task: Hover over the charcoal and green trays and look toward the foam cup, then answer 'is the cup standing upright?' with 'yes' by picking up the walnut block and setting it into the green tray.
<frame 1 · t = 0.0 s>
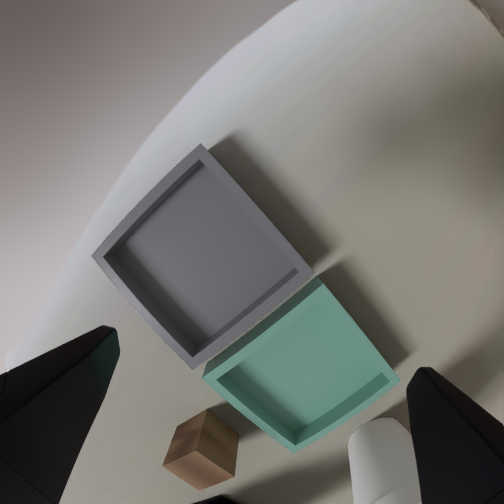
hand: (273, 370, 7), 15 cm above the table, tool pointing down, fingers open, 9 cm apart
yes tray: (304, 369, 24), on the table
walnut block: (207, 430, 25), on the table
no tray: (200, 258, 23), on the table
foam cup: (374, 436, 25), on the table
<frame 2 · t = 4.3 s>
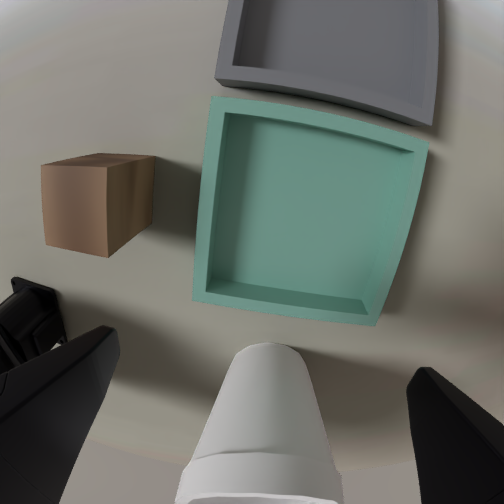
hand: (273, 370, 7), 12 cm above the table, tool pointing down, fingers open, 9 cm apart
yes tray: (304, 211, 18), on the table
walnut block: (123, 187, 18), on the table
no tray: (334, 16, 13), on the table
foam cup: (268, 368, 23), on the table
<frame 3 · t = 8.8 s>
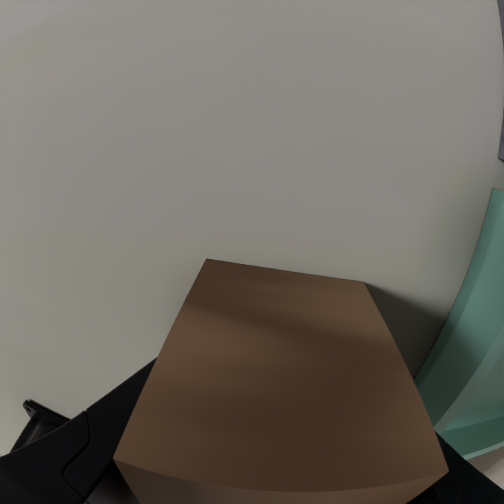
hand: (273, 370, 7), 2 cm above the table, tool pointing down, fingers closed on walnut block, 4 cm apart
walnut block: (273, 335, 9), on the table, touching gripper
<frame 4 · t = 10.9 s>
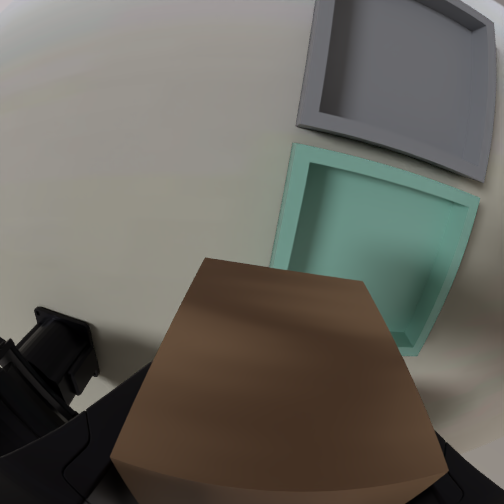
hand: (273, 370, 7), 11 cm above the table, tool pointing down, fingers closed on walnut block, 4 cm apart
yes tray: (364, 256, 18), on the table
walnut block: (272, 334, 9), point 10 cm above the table, touching gripper
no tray: (403, 62, 13), on the table
when the fingers open (4 cm above the table, at t = 13.4 s): walnut block drops 1 cm, resting on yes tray.
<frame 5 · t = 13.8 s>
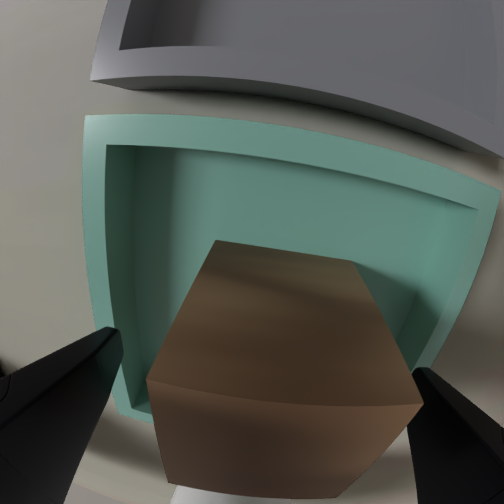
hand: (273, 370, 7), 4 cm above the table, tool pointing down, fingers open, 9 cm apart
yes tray: (274, 301, 11), on the table
walnut block: (273, 309, 10), point 1 cm above the table, touching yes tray
foam cup: (237, 459, 16), on the table
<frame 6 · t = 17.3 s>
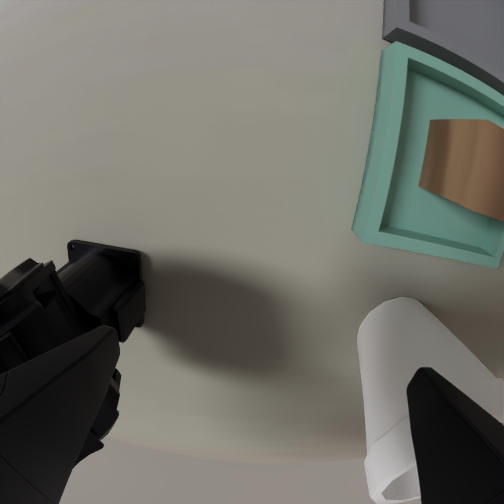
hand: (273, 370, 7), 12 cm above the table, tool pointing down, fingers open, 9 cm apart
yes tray: (446, 162, 16), on the table
walnut block: (450, 162, 15), point 1 cm above the table, touching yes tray
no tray: (455, 6, 11), on the table
foam cup: (392, 328, 21), on the table
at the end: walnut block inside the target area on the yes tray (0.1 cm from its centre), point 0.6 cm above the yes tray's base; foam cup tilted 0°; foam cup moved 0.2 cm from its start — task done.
